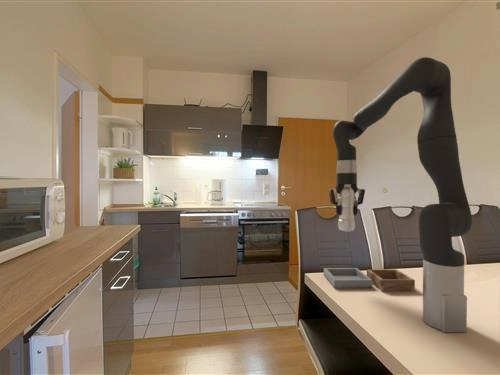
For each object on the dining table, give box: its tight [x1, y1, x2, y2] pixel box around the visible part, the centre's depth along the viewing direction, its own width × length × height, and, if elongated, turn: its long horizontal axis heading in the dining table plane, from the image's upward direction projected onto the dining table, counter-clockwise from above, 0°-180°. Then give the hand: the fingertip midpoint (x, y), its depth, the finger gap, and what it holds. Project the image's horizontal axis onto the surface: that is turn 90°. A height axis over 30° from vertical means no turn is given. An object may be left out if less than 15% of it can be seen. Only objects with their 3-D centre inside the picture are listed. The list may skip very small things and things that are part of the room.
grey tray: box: [323, 267, 373, 289], centre depth 106 cm, size 14×14×3 cm
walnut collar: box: [366, 268, 416, 292], centre depth 102 cm, size 12×12×4 cm
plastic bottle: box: [337, 184, 356, 233], centre depth 105 cm, size 6×7×20 cm
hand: (346, 215), depth 105 cm, fingers closed on plastic bottle, 5 cm apart
